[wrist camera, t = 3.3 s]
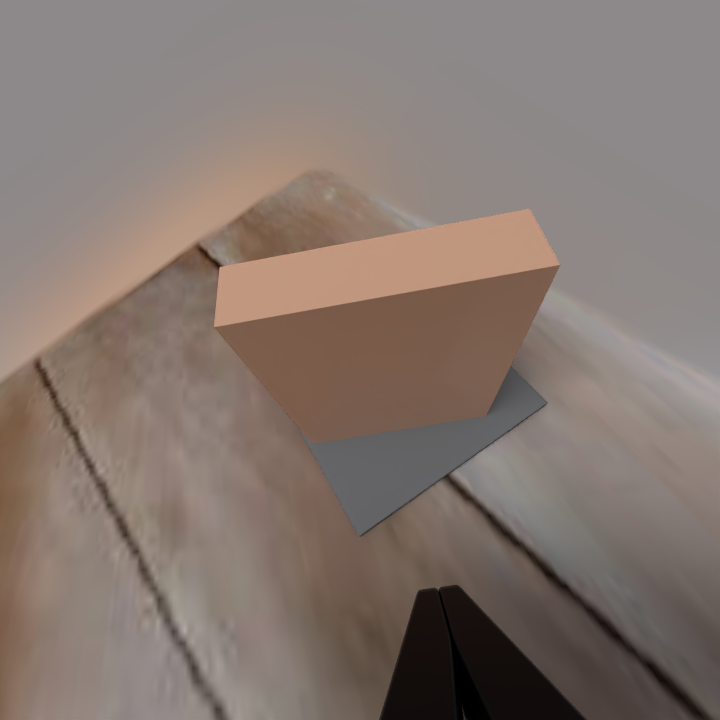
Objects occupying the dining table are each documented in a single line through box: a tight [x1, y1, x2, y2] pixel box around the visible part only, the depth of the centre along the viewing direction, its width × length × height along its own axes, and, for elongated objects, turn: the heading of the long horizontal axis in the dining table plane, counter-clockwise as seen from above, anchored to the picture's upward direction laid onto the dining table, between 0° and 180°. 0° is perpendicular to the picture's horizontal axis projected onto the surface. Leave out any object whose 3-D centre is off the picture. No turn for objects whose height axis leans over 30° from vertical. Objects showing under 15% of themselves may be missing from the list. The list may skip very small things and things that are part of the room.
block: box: [214, 209, 560, 444], centre depth 16 cm, size 2×10×12 cm, turn 97°
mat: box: [297, 366, 547, 536], centre depth 23 cm, size 15×13×1 cm
